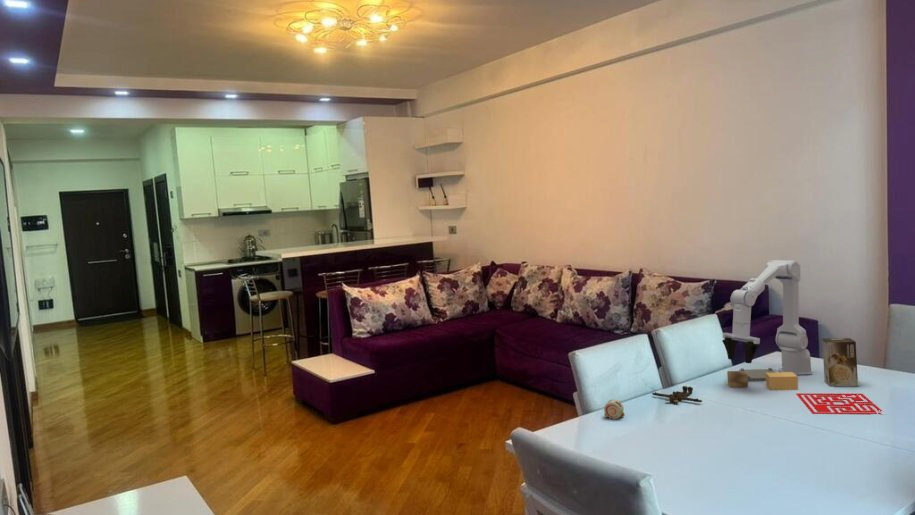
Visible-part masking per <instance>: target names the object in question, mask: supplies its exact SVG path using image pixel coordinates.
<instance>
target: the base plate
mask: <svg viewBox="0 0 915 515" xmlns="http://www.w3.org/2000/svg"><path fill="white" fill-rule="evenodd" d="M738 371H745V372H746V373H747V374H748V383H749V382H766V373H772V372H776V371H775V370H774V369H773V368H772V367H768V368H762V369H761V368H759V369H756V368H755V369H751V368H750V369H745V368H743V367H742V368H740V369H738Z"/></svg>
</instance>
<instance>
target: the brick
mask: <svg viewBox="0 0 915 515" xmlns="http://www.w3.org/2000/svg"><path fill="white" fill-rule="evenodd" d="M798 378H799V377H798V375H795V374H794V373H793V372H781V371H778V372H776V371H775V372H772V373H766V381H765V386H766V388H768V390H769V391H795V390H796V391H798V390H799V379H798Z"/></svg>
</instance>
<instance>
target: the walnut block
mask: <svg viewBox="0 0 915 515" xmlns="http://www.w3.org/2000/svg"><path fill="white" fill-rule="evenodd" d="M726 377H727V385H728V386H729V388H731V389H732V388H733V389H734V388H735V389H737V388H738V389H739V388H740V389H741V388H743V389H744V388H745V389H746V388H749V382H748V374H747V373H746V372H745V371H739V370H731V371H730V370H728V371H727V376H726Z"/></svg>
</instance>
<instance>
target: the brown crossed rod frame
mask: <svg viewBox="0 0 915 515" xmlns="http://www.w3.org/2000/svg"><path fill="white" fill-rule="evenodd" d="M681 388H682V391H677V390H676V391H673V392H672V394H671V393H670V394H666V393H659V392H656V391H655V392H652V393H651V394H652V395H653V396H656V397H661V398H662V397H664V398H666V399H665V400H664V401H666V402H669V403H670V404H672V405H673V404H675V403H676V404H677V403H679V402H680V401H687V402H688V401H689V402H694V403H703V399H699V398H692V397H688V396H690V395H692V394H693V391H694V388H693V387H692V386H687V385H683V386H682V387H681Z"/></svg>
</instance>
